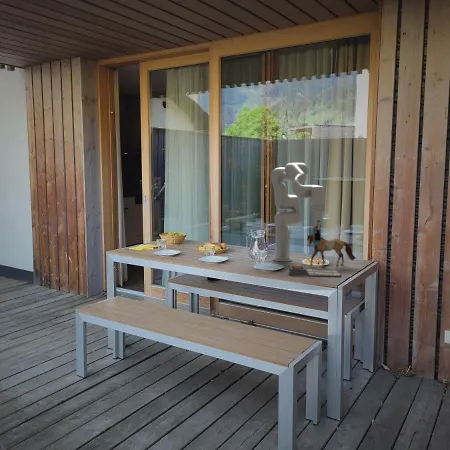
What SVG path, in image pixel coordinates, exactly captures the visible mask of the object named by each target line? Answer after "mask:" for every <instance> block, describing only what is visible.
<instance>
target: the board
mask: <svg viewBox="0 0 450 450" xmlns="http://www.w3.org/2000/svg"><path fill="white" fill-rule="evenodd" d="M306 269H307V272H306V275H307V276H308V277H309V278H311V277H312V278H313V277H315V278H318V277H319V278H342V275H341V273H340V272H339V271H338V270H337V269H323V268H322V269H321V268H320V269H318V268H317V269H315V268H314V269H312V268H310V269H309V268H306ZM320 276H321V277H320ZM333 276H334V277H333Z"/></svg>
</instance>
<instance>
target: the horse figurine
mask: <svg viewBox="0 0 450 450" xmlns="http://www.w3.org/2000/svg"><path fill="white" fill-rule="evenodd" d="M306 237H307V239H306V240H307V246H308V247H311V245H312V244H313V233H312V234H310V235H306ZM344 247H345V248H344ZM343 248H344V249H345V252H346V254H347V256H348V257H349V258H348V259H349V260H351V261H352V262H353V261H354V260H355V259H357V257H355V256H354V254H353V250H352V247H351V246H350V244H349V243H347V242H346V241H344V240H341V239H339V238H332V239H325V238H324V237H321V245H313V254H312V256H311V257H310V258H311V259H310V263H309V264H310V265H311V266H310V267H313V266H314V265H313V260H314V257H315V256H317V254H318V253H320V255H321V260H322V264H321V265H320V268H324V265H325V256H324V252H330V251H333V250H334V252H335V253H336V254H337V255H338V258H337V260H336V264H335V267H339V265H340V266H344V263H345V259H344V254H343V252H342V250H343ZM340 259H341V264H339V263H340Z"/></svg>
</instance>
